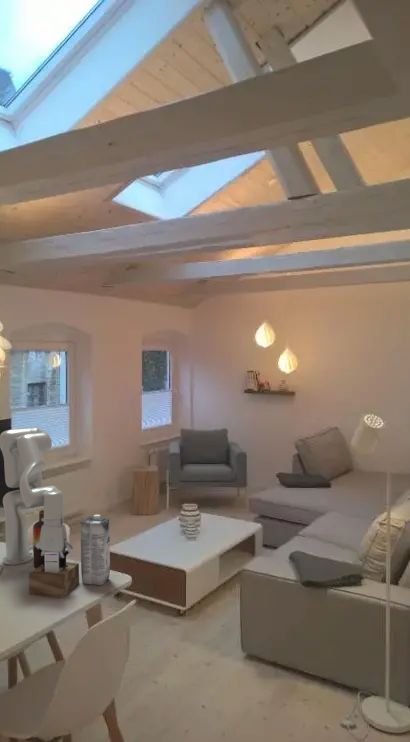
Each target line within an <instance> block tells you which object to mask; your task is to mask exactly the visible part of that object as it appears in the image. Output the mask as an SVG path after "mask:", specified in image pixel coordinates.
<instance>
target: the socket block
mask: <svg viewBox="0 0 410 742" xmlns="http://www.w3.org/2000/svg"><path fill="white" fill-rule="evenodd" d="M28 584H29V585H28V588H29V589H28V592H29V593H28V594H29V595H38V596H47V597H54V598H63V597H64V596H65V595H66V594H68V593H69V592H70V591H71V590H72V589H74V588H75V587H76V586H78V584H80V564H79V563H77V562H70V561H69V562H68V561H66V565H65V566H64V567H63V570H62V571H61V572H59V573H52V572H45V566H43V564H42V565H41V566H39V567H38V568H36V569H35V568H34V570H32V571H30V572H29V573H28Z"/></svg>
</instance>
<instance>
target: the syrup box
mask: <svg viewBox="0 0 410 742" xmlns="http://www.w3.org/2000/svg"><path fill="white" fill-rule="evenodd" d="M44 554H45V572H52V573H59V572H61V571H62V570H63V568H61V567H60V558H61V555H60V553H59V552H50V551H46V552H45V553H44Z"/></svg>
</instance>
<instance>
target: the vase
mask: <svg viewBox="0 0 410 742" xmlns="http://www.w3.org/2000/svg"><path fill="white" fill-rule="evenodd" d="M42 518H44V509H42V510H39V512H38V521H36V522H35V523H33V526H32V545H33V548H32V551H33V552H32V561H33V568H34V570H35V569H36V568H38V567H39V566H41V565H42V564H43V562H42V556H41V553H40V552H39V551H38V549H37V547H36V546H35V545H36V544H37V543H38V542H39V541H40V534H41V528H42V525H44V522H43V521H41V519H42Z"/></svg>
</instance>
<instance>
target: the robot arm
mask: <svg viewBox="0 0 410 742" xmlns="http://www.w3.org/2000/svg"><path fill="white" fill-rule="evenodd" d="M52 445H53V443H52V438H51V436H50V434H49V433H48V432H47V431H45V430H44V429H41V428H40V427H34V426H33V427H24V428H14V429H13V428H12V429H8V430H7V429H6V430H4V431H2V432H1V433H0V451H1V453H2V456H3V461H4V462H3V464H4V480H5V481H4V482H5V485H6V486H7V487H8V488H11V489H15V488H19V489H16V490H12V491H8V492H7V493H5V495H4V496H3V498H2V505H3V510H4V516H5V517H4V518H5V519H4V520H5V553H6V554H5V556H3V558H2V563H3V564H4V565H5V564H6V565H9V566H10V565H11V566H16V565H22V564H26V563H28V562H30V561H31V560H33V554H31V553H30V551H31V550H33V544H30V545H29V525H28V524H29V521H28V518H27V516H25V514H24V513H23V512H25V511H30V510H34V509H37V508H40V507H43V510H44V518H42V519H41V521H43V522H44V525H42V528H41V534H40V541H39V542H38V543H37V544H36V545H35V546H36V547H37V549H38V551H39V552H40V553H41V556H42V562H43V566H45V554H44V553H45V552H46V551H50V552H59V553H60V555H61V558H60V567H61V568H63V567H64V566H65V565H66V562H67V556H68V555H69V554H70V553H71V552H72V550H73V549H74V547H73V546H72V545H71V544H70V543H69V542H68V535H67V528H66V525H65V524H64V494H63V493H64V492H63V491H62V490H60V489H58V487H57V486H55V485H47V486H43V474H42V471H41V470H43V469H44V468H45V465H46V461H45V459H44V456H43V452H48V451H50V450H51V448H52ZM66 549H67V550H66Z"/></svg>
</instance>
